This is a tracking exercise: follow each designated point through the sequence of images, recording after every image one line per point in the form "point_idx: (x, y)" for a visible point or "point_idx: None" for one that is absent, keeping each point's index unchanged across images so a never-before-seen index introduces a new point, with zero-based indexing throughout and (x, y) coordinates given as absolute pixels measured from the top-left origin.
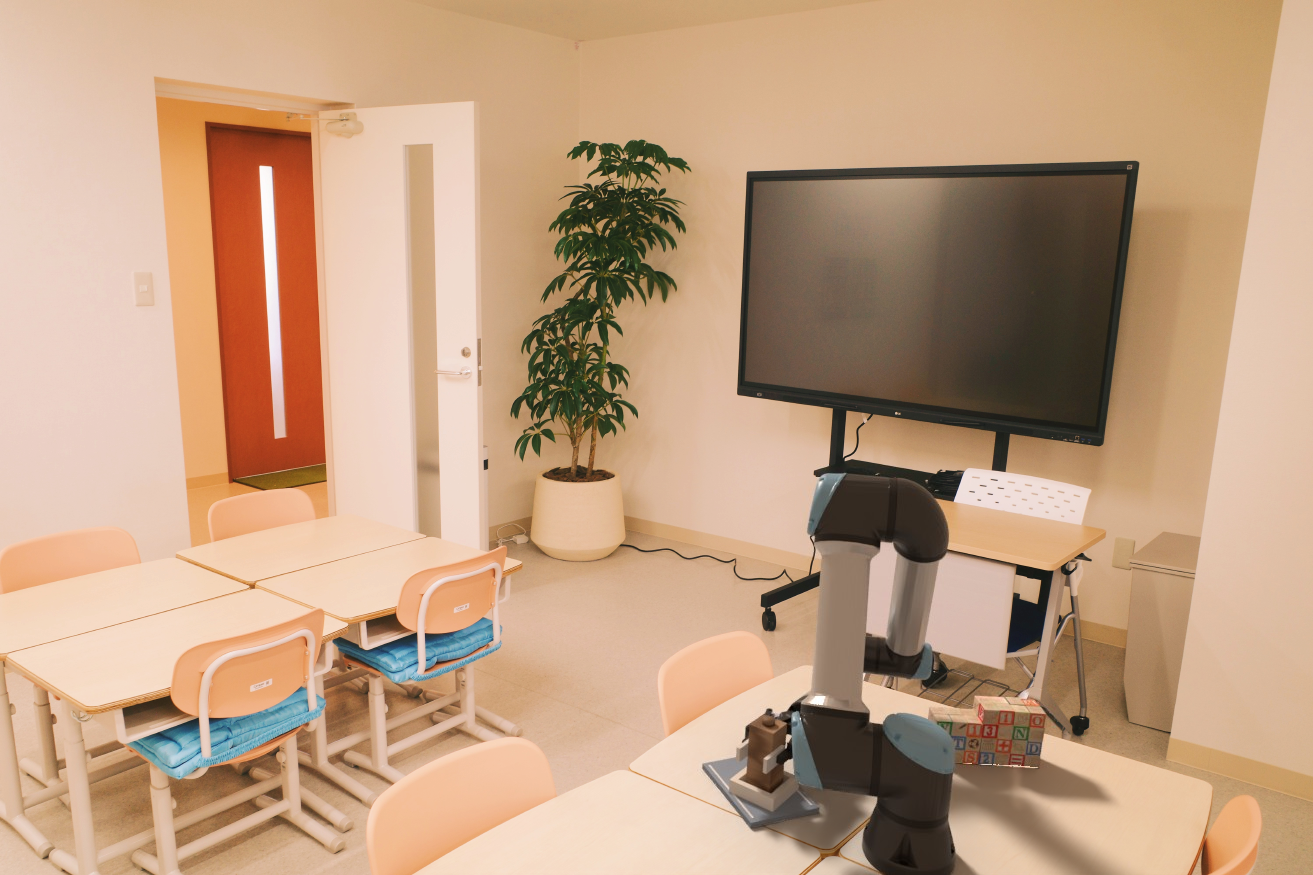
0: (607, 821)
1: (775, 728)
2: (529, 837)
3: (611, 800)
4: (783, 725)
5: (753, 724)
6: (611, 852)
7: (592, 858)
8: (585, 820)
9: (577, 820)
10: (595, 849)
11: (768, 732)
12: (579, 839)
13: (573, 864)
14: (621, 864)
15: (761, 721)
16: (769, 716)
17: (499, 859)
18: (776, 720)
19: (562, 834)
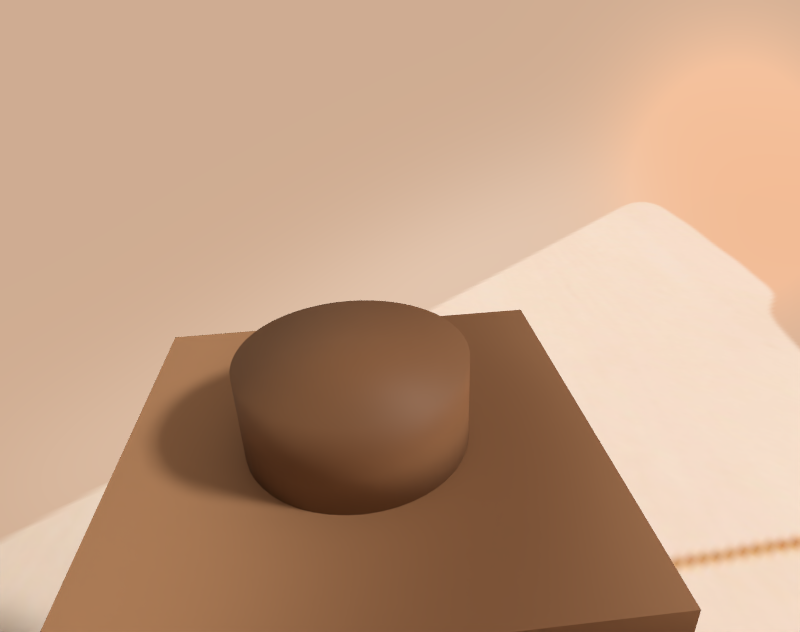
0: (636, 335)
1: (195, 414)
2: (655, 252)
3: (743, 377)
4: (88, 557)
5: (487, 327)
6: (512, 299)
7: (519, 278)
8: (667, 313)
9: (675, 305)
10: (543, 289)
11: (245, 337)
12: (597, 286)
13: (525, 261)
14: (462, 295)
15: (480, 413)
16: (394, 405)
17: (613, 222)
18: (304, 606)
19: (634, 278)
